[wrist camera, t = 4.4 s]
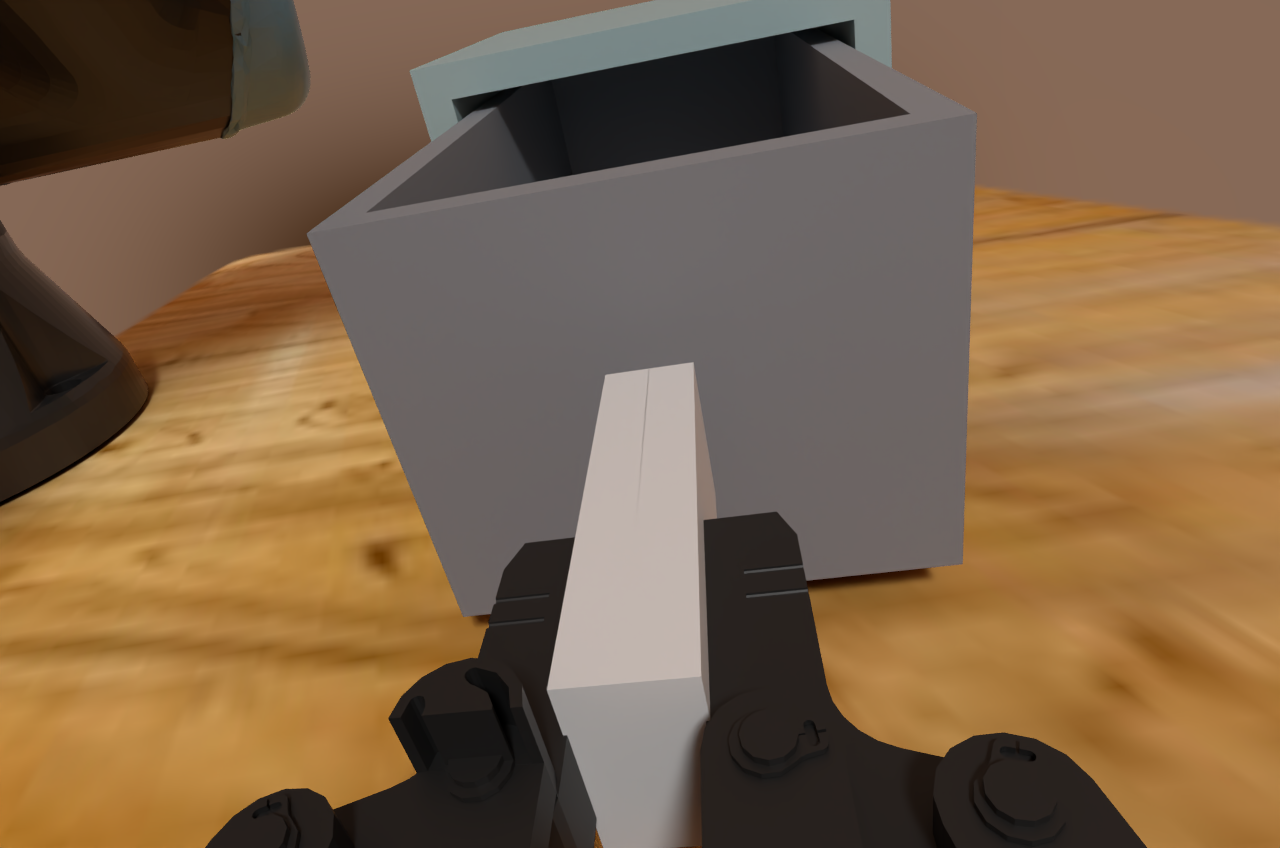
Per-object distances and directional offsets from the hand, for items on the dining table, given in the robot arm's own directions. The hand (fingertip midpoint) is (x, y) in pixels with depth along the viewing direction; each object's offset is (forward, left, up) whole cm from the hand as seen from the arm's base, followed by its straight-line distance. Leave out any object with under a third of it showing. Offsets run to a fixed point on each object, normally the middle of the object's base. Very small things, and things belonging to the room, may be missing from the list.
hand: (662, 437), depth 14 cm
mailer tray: (-10, +9, -5) cm, 14 cm away
